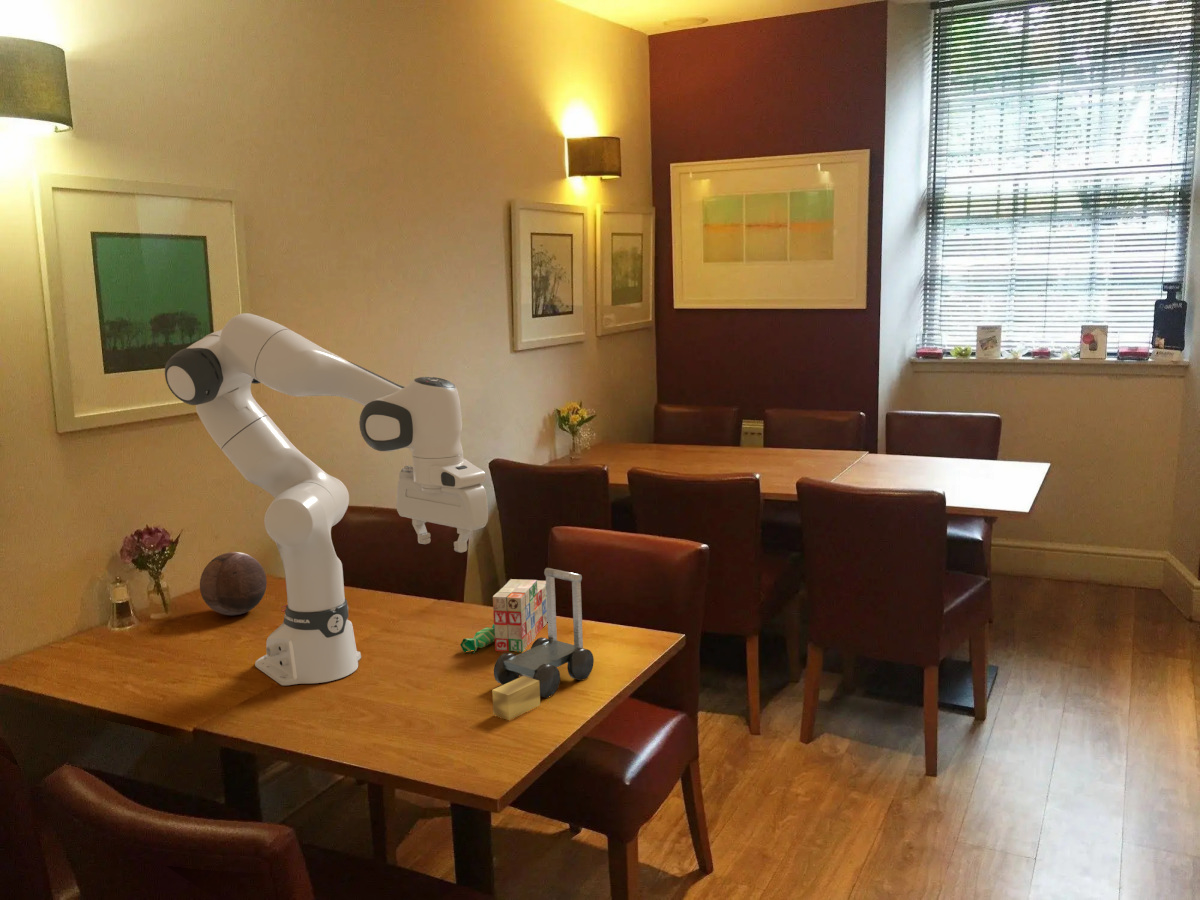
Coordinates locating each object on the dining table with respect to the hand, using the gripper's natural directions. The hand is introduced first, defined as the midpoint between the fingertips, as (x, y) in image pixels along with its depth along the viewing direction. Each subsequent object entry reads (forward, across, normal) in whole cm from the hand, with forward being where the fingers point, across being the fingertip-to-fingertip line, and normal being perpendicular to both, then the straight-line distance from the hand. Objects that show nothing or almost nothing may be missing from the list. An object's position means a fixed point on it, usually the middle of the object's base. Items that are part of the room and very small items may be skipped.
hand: (442, 547), depth 178 cm
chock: (+31, +10, +7) cm, 33 cm away
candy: (+31, -19, +28) cm, 46 cm away
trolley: (+30, +5, +20) cm, 37 cm away
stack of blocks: (+31, -16, +37) cm, 51 cm away
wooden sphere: (+32, -84, +8) cm, 90 cm away
